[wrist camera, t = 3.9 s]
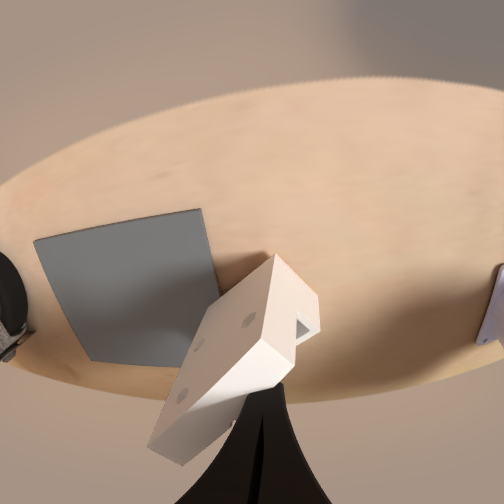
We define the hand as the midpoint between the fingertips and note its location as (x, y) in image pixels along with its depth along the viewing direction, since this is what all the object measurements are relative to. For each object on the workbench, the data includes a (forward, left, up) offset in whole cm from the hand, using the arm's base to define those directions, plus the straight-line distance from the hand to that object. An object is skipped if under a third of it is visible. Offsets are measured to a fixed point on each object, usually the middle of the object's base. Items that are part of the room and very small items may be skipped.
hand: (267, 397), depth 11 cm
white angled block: (+1, 0, -7) cm, 7 cm away
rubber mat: (+10, 0, -8) cm, 13 cm away
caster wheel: (+26, -1, -8) cm, 28 cm away
